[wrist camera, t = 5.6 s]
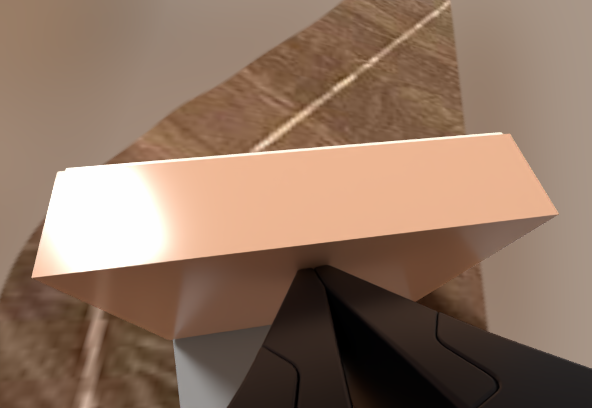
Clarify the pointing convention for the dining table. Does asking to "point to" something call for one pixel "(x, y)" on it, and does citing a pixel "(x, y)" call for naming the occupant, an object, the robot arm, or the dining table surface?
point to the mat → (215, 365)
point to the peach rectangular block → (281, 226)
